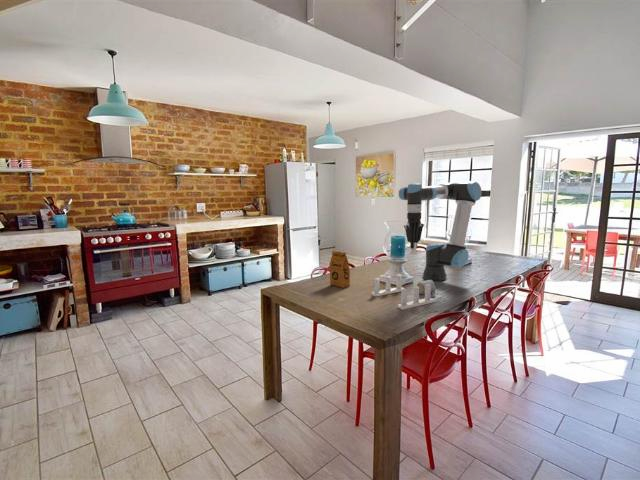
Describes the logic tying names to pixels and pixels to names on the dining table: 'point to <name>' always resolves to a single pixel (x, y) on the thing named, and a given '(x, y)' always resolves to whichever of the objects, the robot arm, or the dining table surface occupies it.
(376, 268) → the dining table surface
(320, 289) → the dining table surface
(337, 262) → the coffee package
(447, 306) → the dining table surface
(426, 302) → the rack
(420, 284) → the ceramic mug
